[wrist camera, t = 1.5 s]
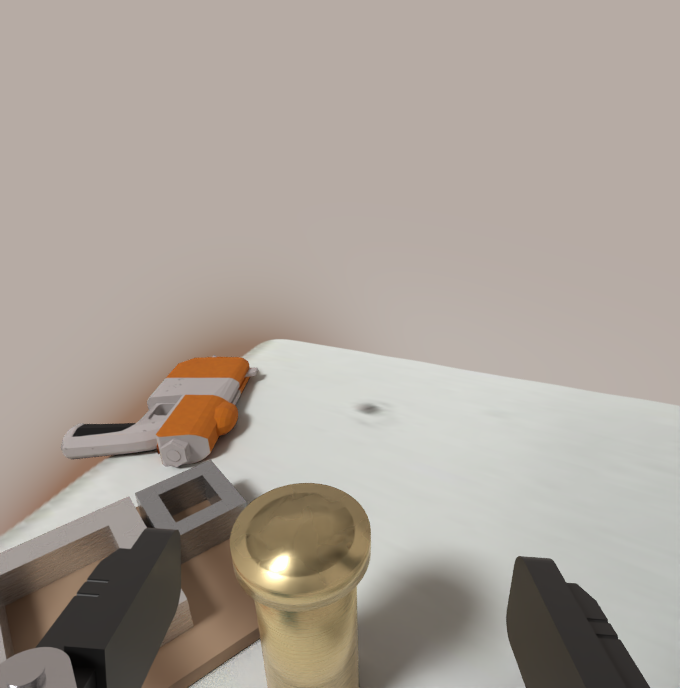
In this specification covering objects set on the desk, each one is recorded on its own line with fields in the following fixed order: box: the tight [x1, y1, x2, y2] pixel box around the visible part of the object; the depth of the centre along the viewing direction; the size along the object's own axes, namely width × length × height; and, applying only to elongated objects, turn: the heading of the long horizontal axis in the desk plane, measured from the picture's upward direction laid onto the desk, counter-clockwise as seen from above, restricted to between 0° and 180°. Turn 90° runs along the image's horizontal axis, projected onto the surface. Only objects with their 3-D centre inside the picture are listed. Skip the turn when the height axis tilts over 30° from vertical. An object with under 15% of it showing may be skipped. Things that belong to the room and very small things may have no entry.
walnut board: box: [5, 500, 260, 688], centre depth 34 cm, size 18×15×1 cm
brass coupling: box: [230, 483, 371, 688], centre depth 26 cm, size 6×6×12 cm
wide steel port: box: [0, 497, 194, 663], centre depth 32 cm, size 11×11×2 cm
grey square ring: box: [135, 460, 247, 564], centre depth 38 cm, size 6×6×2 cm
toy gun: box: [61, 355, 258, 467], centre depth 54 cm, size 3×19×15 cm
